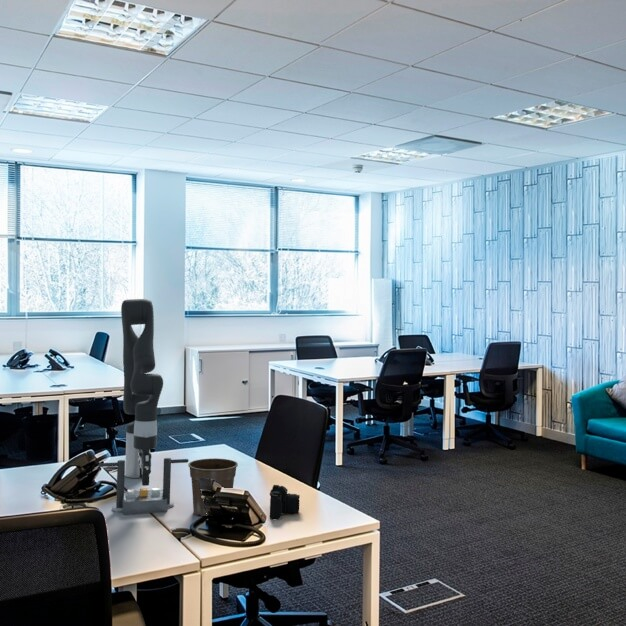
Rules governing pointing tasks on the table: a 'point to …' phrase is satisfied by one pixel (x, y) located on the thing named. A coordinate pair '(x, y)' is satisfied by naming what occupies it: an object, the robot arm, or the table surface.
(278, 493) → the film camera
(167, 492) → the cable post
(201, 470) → the plant pot
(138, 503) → the grey block holder
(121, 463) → the cable post
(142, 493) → the orange matte cube
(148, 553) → the table surface
